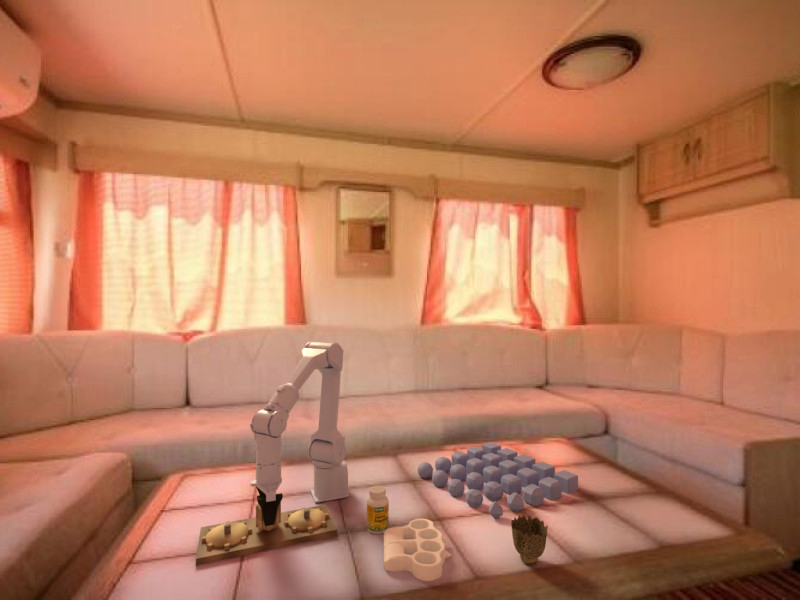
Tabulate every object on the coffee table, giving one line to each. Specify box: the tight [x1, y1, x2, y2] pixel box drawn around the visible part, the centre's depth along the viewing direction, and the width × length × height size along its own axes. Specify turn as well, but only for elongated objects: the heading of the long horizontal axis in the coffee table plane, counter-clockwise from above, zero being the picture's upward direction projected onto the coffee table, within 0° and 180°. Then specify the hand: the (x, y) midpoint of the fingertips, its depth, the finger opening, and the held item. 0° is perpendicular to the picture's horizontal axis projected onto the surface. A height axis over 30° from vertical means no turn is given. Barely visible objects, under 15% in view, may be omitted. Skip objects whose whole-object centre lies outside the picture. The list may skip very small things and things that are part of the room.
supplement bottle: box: [366, 485, 390, 535], centre depth 100 cm, size 5×5×10 cm
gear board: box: [195, 504, 338, 567], centre depth 97 cm, size 30×13×4 cm, turn 112°
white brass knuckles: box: [383, 518, 453, 582], centre depth 90 cm, size 3×18×15 cm
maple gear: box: [255, 501, 282, 531], centre depth 97 cm, size 6×6×5 cm
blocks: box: [417, 441, 579, 520], centre depth 126 cm, size 35×34×5 cm
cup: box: [510, 515, 548, 566], centre depth 87 cm, size 8×7×8 cm
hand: (268, 518), depth 97 cm, fingers closed on maple gear, 5 cm apart
